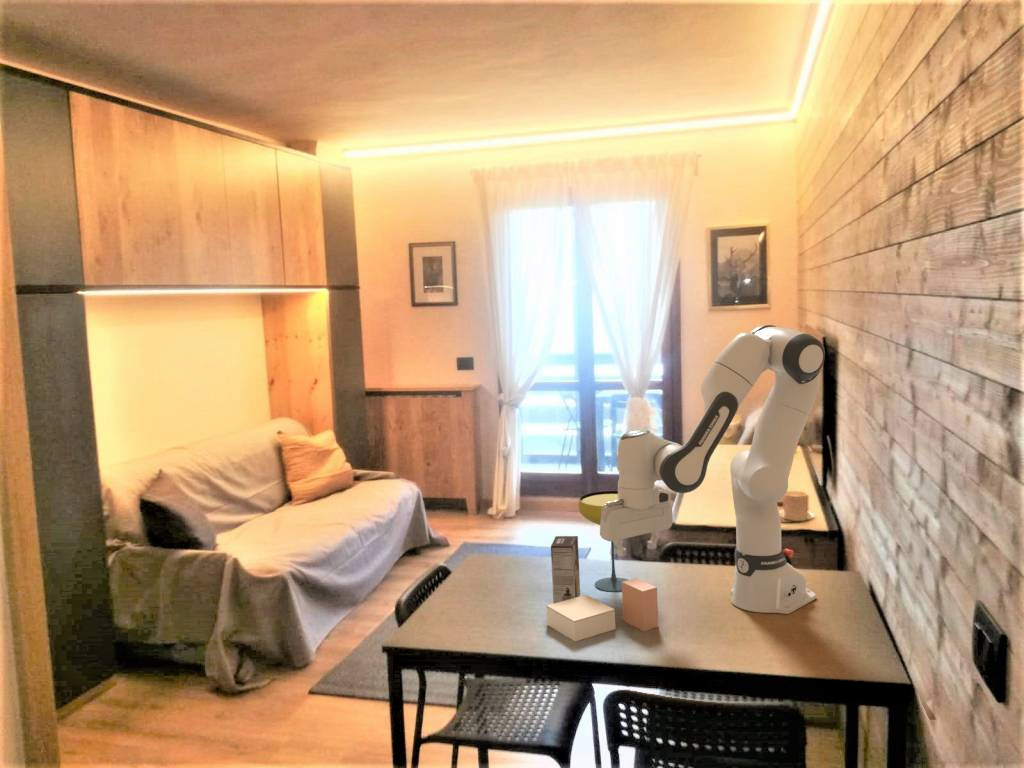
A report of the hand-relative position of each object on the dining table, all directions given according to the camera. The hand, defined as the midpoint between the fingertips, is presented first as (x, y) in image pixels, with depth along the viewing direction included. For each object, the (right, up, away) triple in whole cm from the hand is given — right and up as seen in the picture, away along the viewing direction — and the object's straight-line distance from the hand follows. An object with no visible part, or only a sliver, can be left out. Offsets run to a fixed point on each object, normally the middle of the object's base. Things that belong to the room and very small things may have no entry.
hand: (637, 552), depth 189 cm
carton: (+1, -18, +2) cm, 18 cm away
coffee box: (-16, -17, +21) cm, 31 cm away
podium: (-14, -19, +1) cm, 23 cm away
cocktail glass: (-2, -16, +29) cm, 33 cm away
